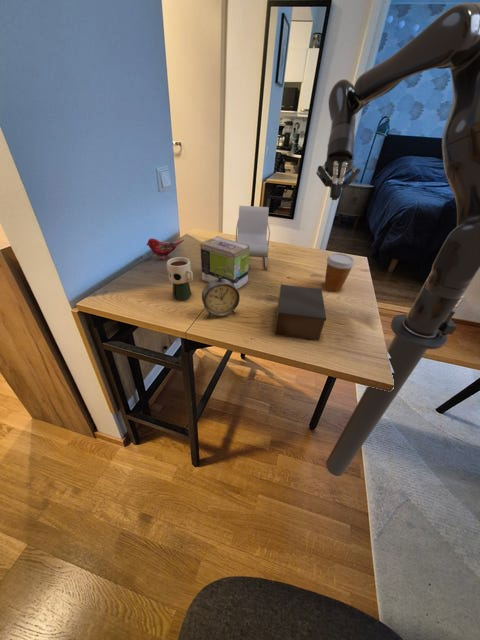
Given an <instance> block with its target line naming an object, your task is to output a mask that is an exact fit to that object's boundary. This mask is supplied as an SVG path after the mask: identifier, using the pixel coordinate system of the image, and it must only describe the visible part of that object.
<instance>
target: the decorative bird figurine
mask: <svg viewBox="0 0 480 640" xmlns="http://www.w3.org/2000/svg"><path fill="white" fill-rule="evenodd" d="M184 241H185V239H182V240H180V241H177V242H171V241H159V240H158V239H156V238H153V237H152V238H149V239H148V240H147V243H146V246H148V247H149V249H150V250H151V251H152V253H153V254H155V255H156V256H158V257H161V258H159V259H158V261H160V260H161V261H163V260H165V259H169V254H171V253H172V252H174V250H175V249H176V248H177V247H178V245H180V244H182V243H183V242H184Z"/></svg>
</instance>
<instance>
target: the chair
mask: <svg viewBox="0 0 480 640" xmlns="http://www.w3.org/2000/svg"><path fill="white" fill-rule="evenodd" d="M269 208H270V207H268V206H254V205H253V206H252V205H239V206H238V219H237V223H236V229H235V242H239V243H243V244H246V245H249V246H250V251H249V258H250V257H251V258H264V268H265V270H267V269H268V260H269V259H268V257H269V247H270V238H271V229H270V224H269Z"/></svg>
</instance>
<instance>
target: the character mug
mask: <svg viewBox="0 0 480 640" xmlns="http://www.w3.org/2000/svg"><path fill="white" fill-rule="evenodd" d="M191 269H192V268H191V261H190V259H189V258H188V257H183V256H176V257H172V258H170V259H169V258H168V260H167V262H166V270H167V272H168V279H169V281H170V282H171V283H172V297H173V299H176V300H177V301H184V300H187V299H189V298H190V297H191V296H192V289H191V285H190V281H193V280H194V273H193V271H192V270H191Z"/></svg>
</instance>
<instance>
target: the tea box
mask: <svg viewBox="0 0 480 640" xmlns="http://www.w3.org/2000/svg"><path fill="white" fill-rule="evenodd" d="M199 245H200V266H201V279H202V281H205V282H207V283H209V282H211V281H213V280H215V279H219V278H217V277H218V276H221V277H222V276H223V275H224V273H225V271H226V273H225V275H224V276H223V277H222V278H221V279H226V280H229V281H230V282H232V283H233V284H234V286H235V287H236V289H237V290H239V289H241V287H243V286H244V285H246V284H247V283H248V281H249V280H248V279H249V266H250V257H249V251H250V246H249V245H246V244H243V243H239V242H236V240H232V239H229V238H224V237H220V236H219V235H216V236H214V237H212V238H210V239H207V240H205V241H202V242H200V243H199ZM219 267H222V268H224V269H225V271H224V270H223V269H221V268H220V269H217V268H219ZM216 269H217V270H216ZM215 270H216V272H215V275H216V276H217V277H216V276H215V275H214V271H215Z"/></svg>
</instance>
